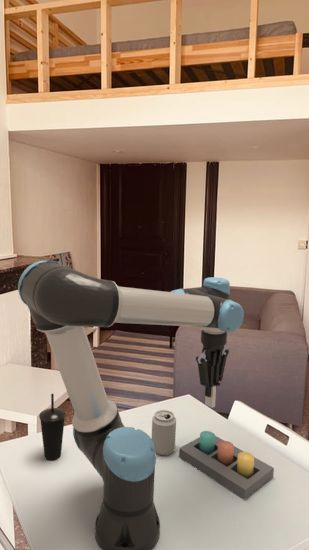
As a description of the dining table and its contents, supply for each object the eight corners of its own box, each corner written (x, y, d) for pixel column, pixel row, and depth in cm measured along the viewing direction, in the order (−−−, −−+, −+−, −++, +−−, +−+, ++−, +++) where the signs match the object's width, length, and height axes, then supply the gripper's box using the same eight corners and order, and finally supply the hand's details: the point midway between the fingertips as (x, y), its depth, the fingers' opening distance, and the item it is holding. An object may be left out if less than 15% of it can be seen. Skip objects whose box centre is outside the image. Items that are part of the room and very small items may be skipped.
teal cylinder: (207, 456, 121) (208, 441, 120) (196, 449, 124) (196, 434, 123) (217, 450, 124) (218, 435, 123) (205, 443, 127) (206, 429, 126)
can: (172, 458, 123) (174, 422, 121) (148, 454, 124) (150, 418, 122) (176, 444, 130) (178, 410, 128) (153, 441, 131) (155, 406, 129)
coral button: (226, 467, 116) (227, 452, 115) (213, 460, 119) (214, 444, 118) (235, 461, 119) (237, 445, 118) (223, 454, 122) (224, 439, 121)
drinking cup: (46, 467, 116) (46, 402, 113) (35, 454, 122) (34, 392, 119) (70, 457, 121) (70, 395, 118) (58, 445, 127) (57, 386, 124)
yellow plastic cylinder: (246, 480, 111) (248, 463, 110) (233, 471, 114) (234, 455, 113) (256, 473, 114) (257, 457, 113) (242, 465, 117) (243, 449, 116)
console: (244, 500, 106) (245, 489, 106) (178, 457, 123) (179, 448, 123) (273, 477, 116) (273, 467, 115) (208, 440, 133) (208, 432, 132)
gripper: (209, 338, 111) (205, 417, 115) (238, 329, 119) (233, 403, 124) (189, 331, 116) (186, 407, 120) (217, 323, 125) (214, 394, 129)
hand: (210, 405), depth 122 cm, fingers closed
